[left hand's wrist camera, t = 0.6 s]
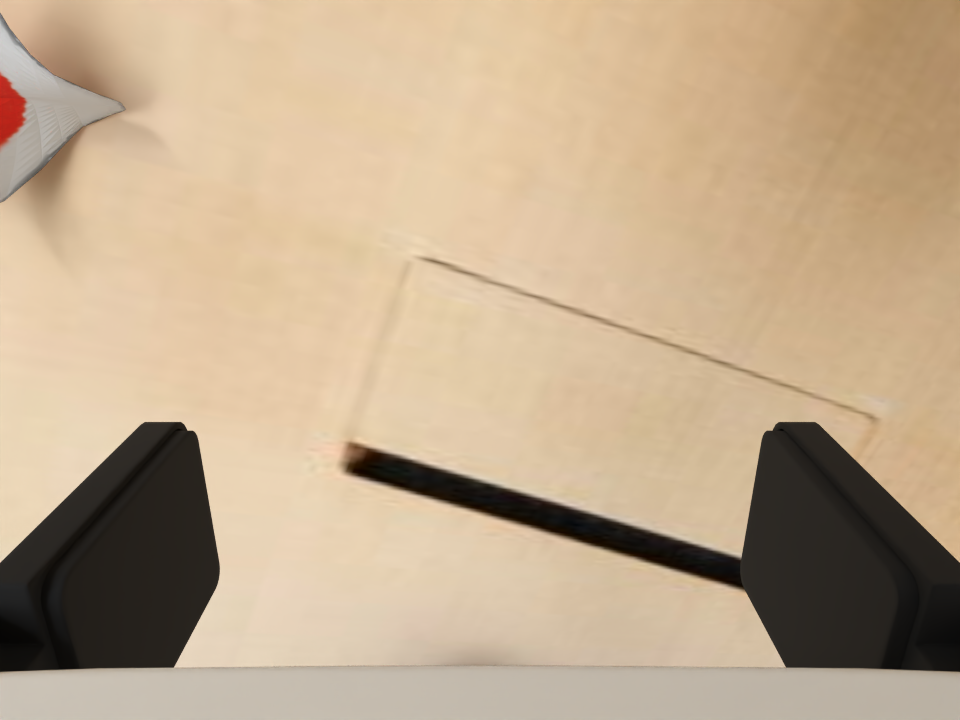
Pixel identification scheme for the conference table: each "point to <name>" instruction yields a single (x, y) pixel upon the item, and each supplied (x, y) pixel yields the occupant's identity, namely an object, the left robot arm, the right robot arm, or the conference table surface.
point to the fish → (37, 113)
